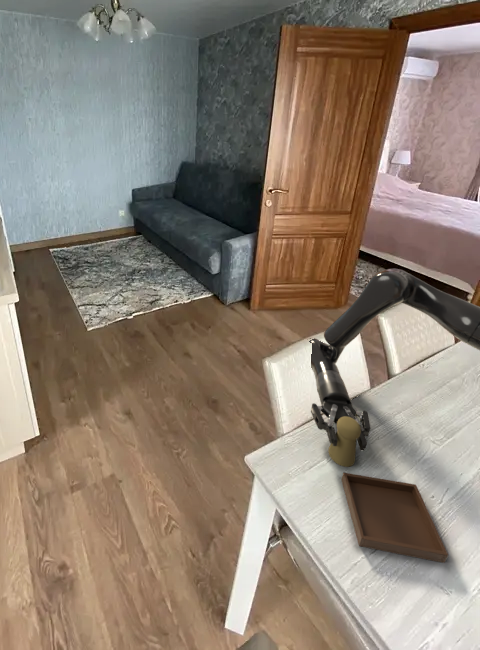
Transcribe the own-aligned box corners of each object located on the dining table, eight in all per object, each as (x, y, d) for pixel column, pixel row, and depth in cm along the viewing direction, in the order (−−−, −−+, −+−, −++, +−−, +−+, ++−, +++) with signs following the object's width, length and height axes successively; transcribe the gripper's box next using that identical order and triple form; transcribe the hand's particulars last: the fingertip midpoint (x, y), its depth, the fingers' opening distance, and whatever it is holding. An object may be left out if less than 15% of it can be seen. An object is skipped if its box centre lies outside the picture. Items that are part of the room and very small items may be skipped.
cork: (323, 453, 86) (331, 421, 81) (335, 439, 89) (343, 407, 85) (347, 472, 81) (357, 438, 77) (359, 456, 85) (368, 424, 81)
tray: (413, 491, 77) (416, 484, 76) (444, 563, 65) (448, 555, 64) (341, 479, 80) (343, 472, 79) (358, 546, 68) (361, 538, 67)
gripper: (307, 377, 96) (319, 429, 80) (362, 384, 93) (386, 439, 78) (303, 397, 98) (314, 452, 83) (357, 405, 96) (378, 462, 81)
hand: (349, 445), depth 80 cm, fingers open, 5 cm apart
